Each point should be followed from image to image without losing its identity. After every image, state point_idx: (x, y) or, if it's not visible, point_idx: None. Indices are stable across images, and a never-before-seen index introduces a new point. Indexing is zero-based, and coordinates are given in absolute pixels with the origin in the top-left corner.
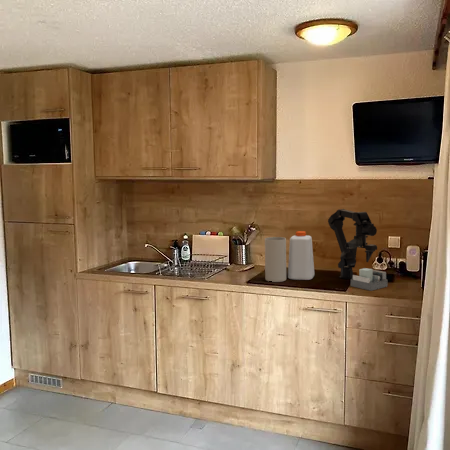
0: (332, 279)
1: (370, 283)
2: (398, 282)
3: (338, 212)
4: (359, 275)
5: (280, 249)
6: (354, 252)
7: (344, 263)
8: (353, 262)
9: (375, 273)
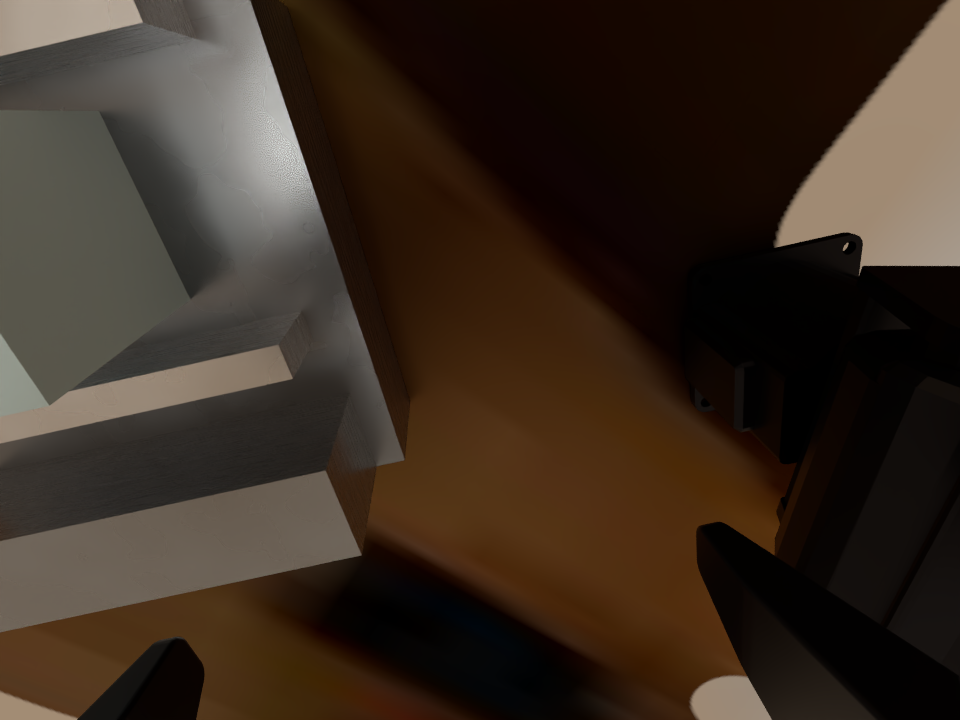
0: (854, 52)
1: None
2: (248, 649)
3: None
4: (16, 111)
5: None
6: None
7: (928, 315)
8: (800, 534)
9: (75, 501)
